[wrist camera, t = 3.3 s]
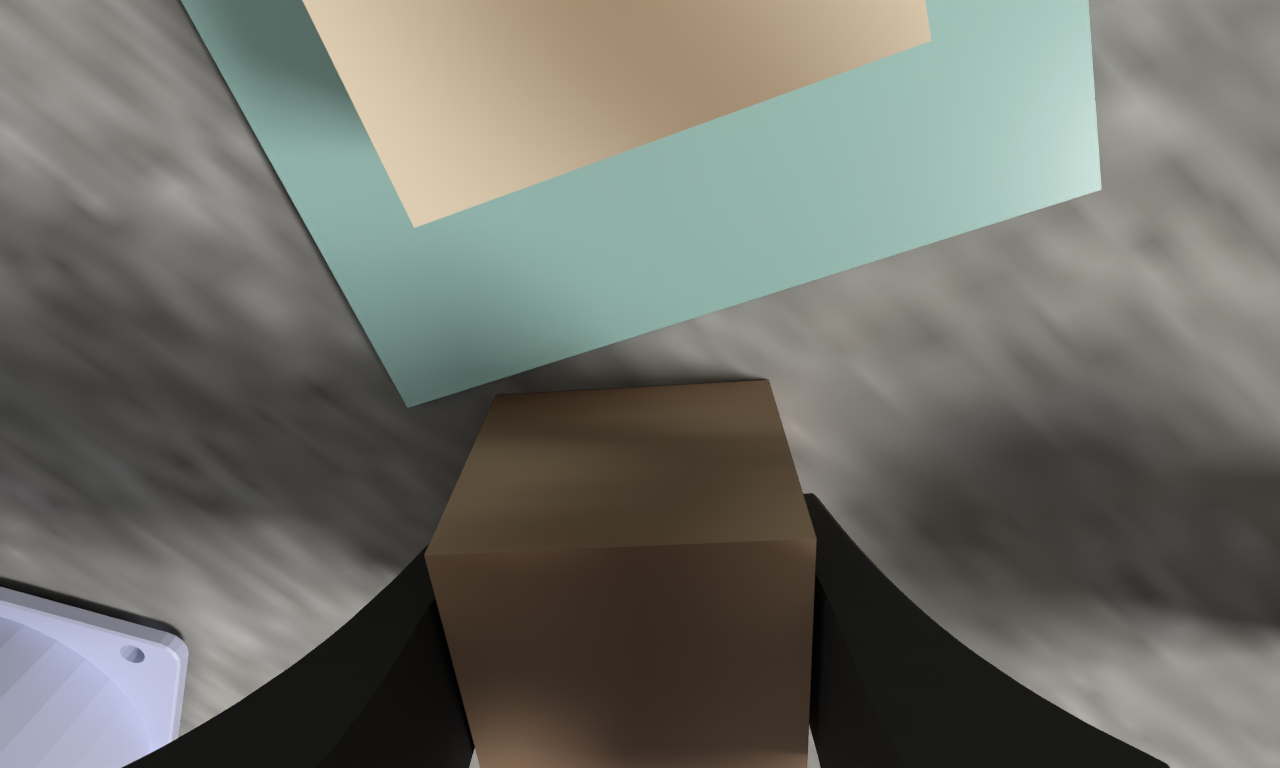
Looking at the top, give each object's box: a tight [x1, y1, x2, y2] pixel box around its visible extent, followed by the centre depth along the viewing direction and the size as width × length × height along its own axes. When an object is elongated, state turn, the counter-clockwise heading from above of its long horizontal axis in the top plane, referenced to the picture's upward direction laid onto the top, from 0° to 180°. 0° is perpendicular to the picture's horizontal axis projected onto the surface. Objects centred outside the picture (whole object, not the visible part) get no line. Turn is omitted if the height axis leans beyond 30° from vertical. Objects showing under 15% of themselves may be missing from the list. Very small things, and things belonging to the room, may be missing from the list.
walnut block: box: [424, 380, 816, 768], centre depth 12 cm, size 5×5×4 cm
